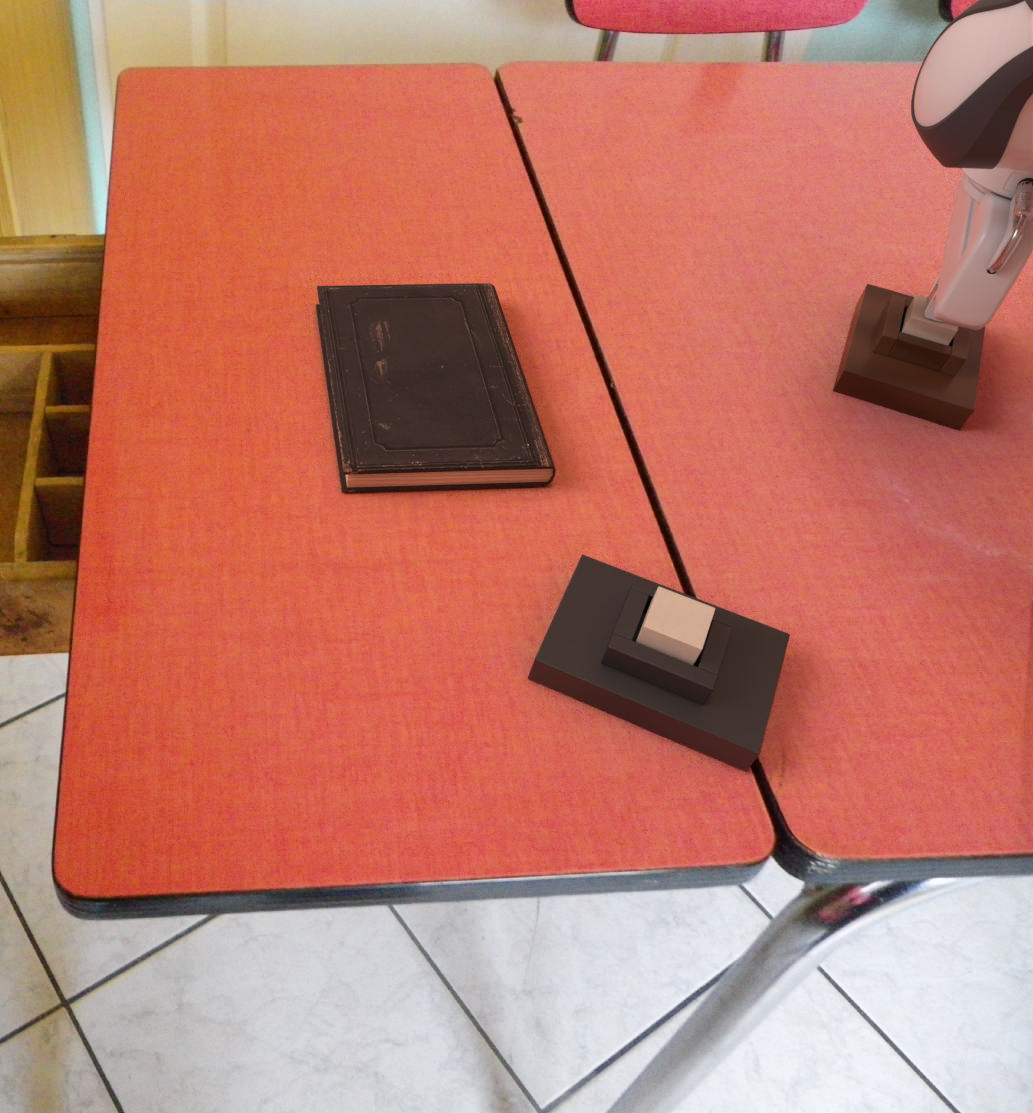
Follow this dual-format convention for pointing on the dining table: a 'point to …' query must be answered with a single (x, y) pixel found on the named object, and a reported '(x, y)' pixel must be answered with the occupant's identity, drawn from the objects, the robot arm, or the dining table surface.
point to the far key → (926, 324)
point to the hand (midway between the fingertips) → (935, 311)
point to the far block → (908, 363)
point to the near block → (662, 666)
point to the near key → (676, 625)
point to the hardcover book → (427, 390)
